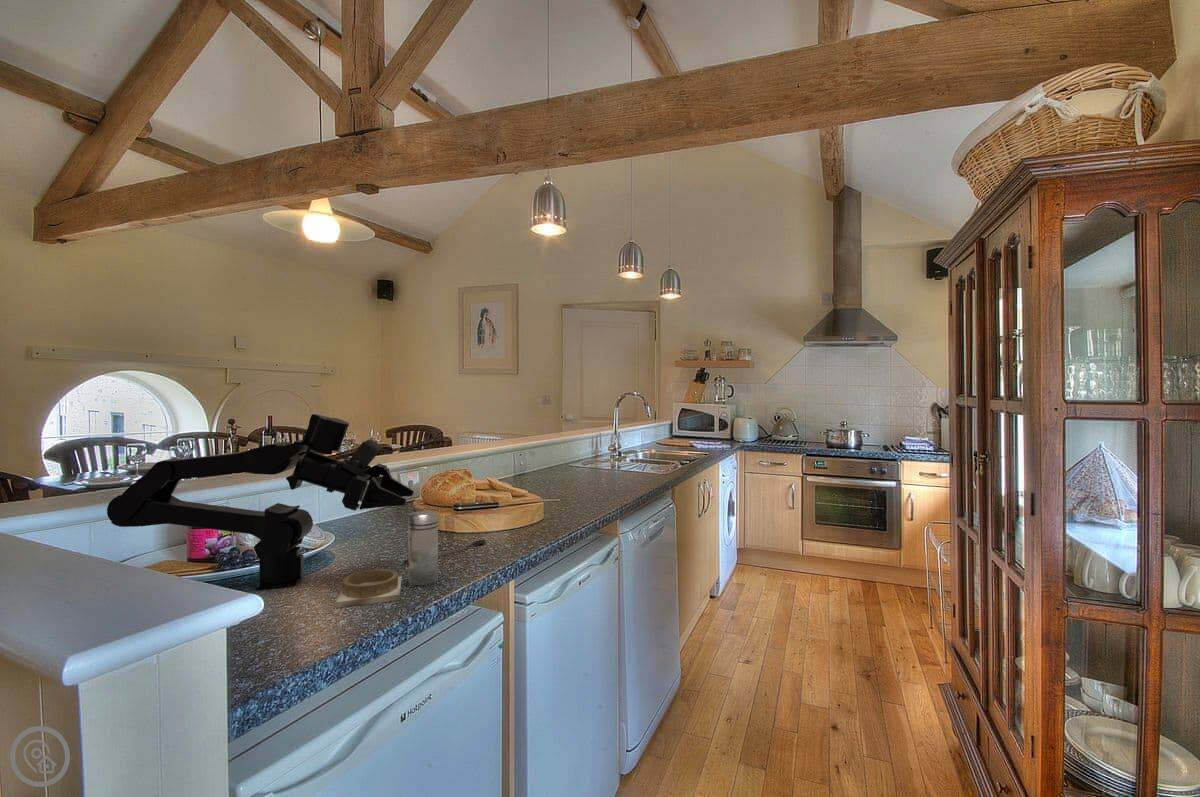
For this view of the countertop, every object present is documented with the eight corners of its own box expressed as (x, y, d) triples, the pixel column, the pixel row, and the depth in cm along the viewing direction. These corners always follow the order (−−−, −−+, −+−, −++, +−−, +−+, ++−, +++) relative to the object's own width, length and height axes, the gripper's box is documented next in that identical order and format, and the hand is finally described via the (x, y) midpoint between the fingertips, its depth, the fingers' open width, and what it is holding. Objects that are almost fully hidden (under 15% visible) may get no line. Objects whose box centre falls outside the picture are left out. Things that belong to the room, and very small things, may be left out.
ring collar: (335, 608, 88) (335, 590, 88) (344, 587, 98) (344, 571, 98) (399, 600, 92) (399, 583, 92) (401, 581, 101) (401, 565, 101)
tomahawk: (418, 575, 108) (418, 569, 108) (401, 565, 112) (401, 560, 112) (499, 550, 124) (499, 545, 124) (481, 542, 128) (481, 538, 128)
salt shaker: (408, 587, 98) (407, 517, 98) (408, 577, 103) (408, 511, 103) (438, 584, 100) (438, 515, 100) (437, 574, 105) (437, 509, 105)
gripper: (330, 437, 94) (416, 465, 96) (357, 431, 112) (429, 454, 115) (307, 497, 93) (395, 523, 96) (338, 481, 111) (411, 503, 114)
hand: (409, 497), depth 105 cm, fingers open, 9 cm apart
